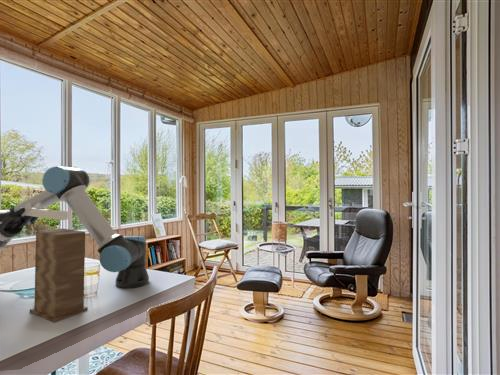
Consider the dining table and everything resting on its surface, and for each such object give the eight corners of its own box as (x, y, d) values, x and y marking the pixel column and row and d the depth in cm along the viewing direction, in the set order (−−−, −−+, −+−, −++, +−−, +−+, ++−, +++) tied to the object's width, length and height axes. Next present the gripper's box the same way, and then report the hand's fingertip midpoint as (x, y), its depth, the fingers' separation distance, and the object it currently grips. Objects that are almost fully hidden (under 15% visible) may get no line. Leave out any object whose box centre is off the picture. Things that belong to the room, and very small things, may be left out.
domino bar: (19, 214, 120) (20, 207, 120) (28, 214, 123) (28, 206, 123) (59, 220, 108) (59, 211, 108) (67, 219, 110) (68, 210, 110)
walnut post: (29, 312, 108) (31, 231, 108) (63, 301, 119) (64, 228, 119) (54, 322, 101) (56, 236, 101) (87, 310, 112) (89, 231, 111)
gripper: (31, 235, 134) (58, 212, 124) (-13, 240, 119) (13, 215, 110) (27, 220, 135) (53, 196, 126) (-17, 223, 121) (9, 197, 112)
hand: (35, 205), depth 118 cm, fingers closed on domino bar, 3 cm apart
